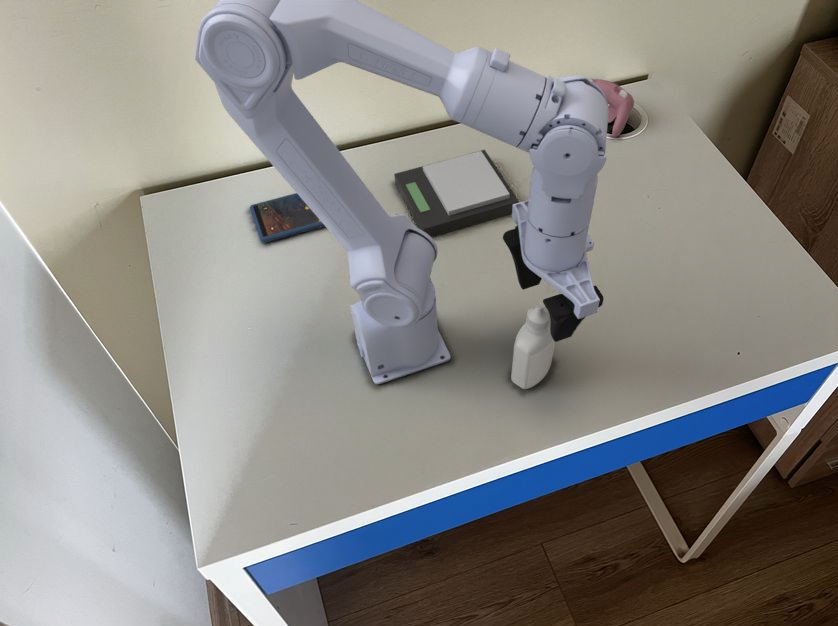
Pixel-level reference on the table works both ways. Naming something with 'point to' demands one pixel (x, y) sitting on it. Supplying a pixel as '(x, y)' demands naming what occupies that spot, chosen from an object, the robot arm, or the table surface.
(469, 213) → the scale
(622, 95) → the video game controller
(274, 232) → the smartphone
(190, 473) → the table surface
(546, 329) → the eye dropper bottle
